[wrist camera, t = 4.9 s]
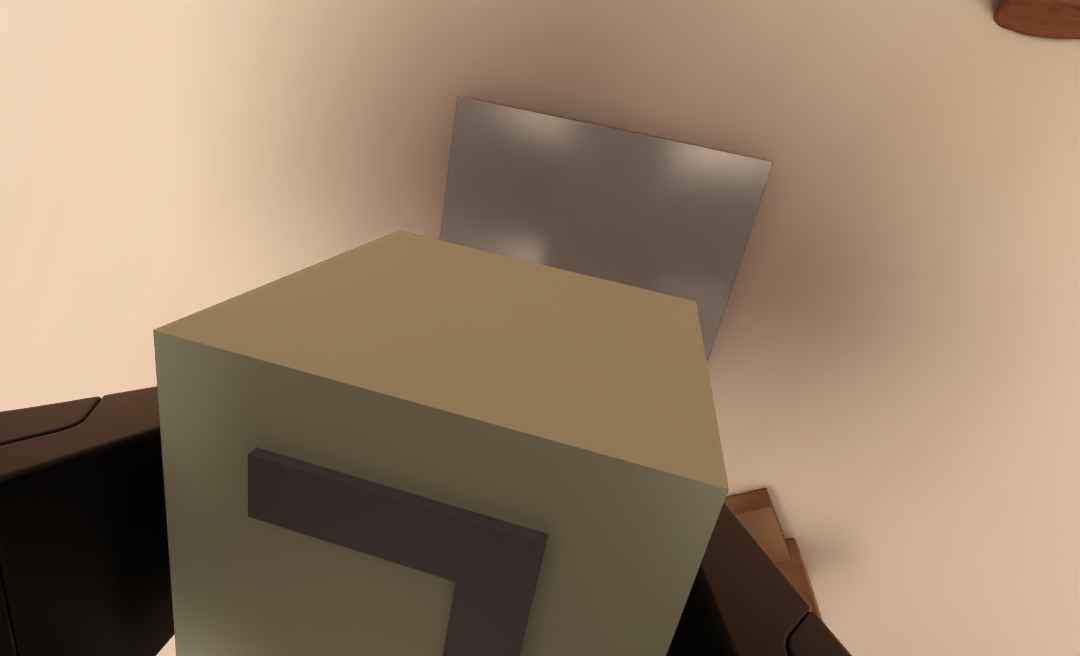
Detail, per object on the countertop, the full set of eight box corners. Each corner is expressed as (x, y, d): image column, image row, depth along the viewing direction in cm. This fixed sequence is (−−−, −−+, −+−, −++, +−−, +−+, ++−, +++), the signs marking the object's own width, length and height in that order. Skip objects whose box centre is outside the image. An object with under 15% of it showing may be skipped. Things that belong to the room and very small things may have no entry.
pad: (769, 160, 16) (773, 162, 15) (680, 432, 19) (680, 441, 19) (464, 96, 17) (457, 96, 17) (429, 365, 20) (423, 371, 20)
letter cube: (695, 301, 9) (729, 498, 4) (621, 547, 11) (587, 875, 6) (392, 229, 10) (129, 331, 5) (369, 473, 11) (162, 718, 7)
